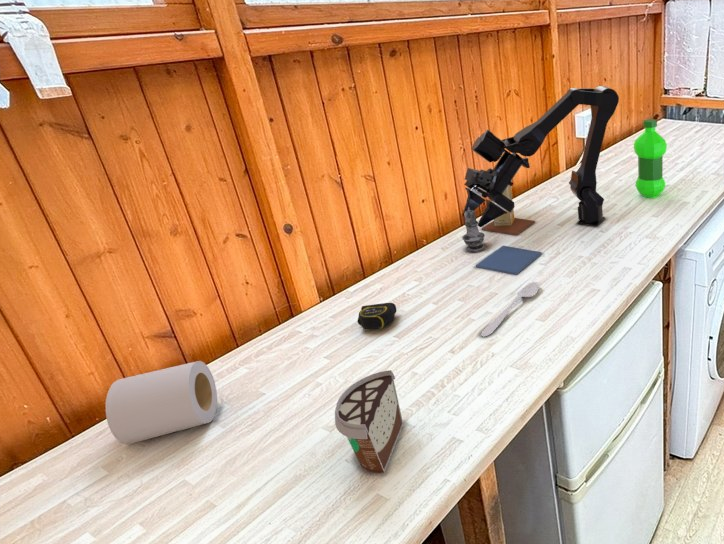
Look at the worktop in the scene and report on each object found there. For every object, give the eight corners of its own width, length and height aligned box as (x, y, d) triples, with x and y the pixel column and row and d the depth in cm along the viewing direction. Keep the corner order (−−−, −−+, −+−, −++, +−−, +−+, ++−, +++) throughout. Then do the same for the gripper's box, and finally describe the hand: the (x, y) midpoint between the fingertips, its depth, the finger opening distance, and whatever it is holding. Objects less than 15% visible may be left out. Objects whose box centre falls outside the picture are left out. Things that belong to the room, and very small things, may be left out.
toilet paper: (126, 458, 78) (96, 407, 74) (150, 414, 86) (124, 366, 82) (206, 436, 81) (182, 386, 77) (222, 396, 90) (200, 349, 85)
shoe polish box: (498, 219, 158) (493, 181, 152) (514, 218, 157) (510, 181, 152) (494, 225, 153) (489, 187, 148) (511, 225, 153) (506, 186, 148)
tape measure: (399, 313, 112) (395, 298, 110) (392, 331, 106) (388, 316, 104) (365, 317, 111) (361, 302, 109) (357, 336, 105) (352, 320, 103)
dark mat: (534, 222, 156) (534, 220, 156) (516, 235, 148) (516, 233, 147) (501, 217, 160) (501, 215, 160) (481, 229, 152) (481, 228, 152)
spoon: (544, 289, 119) (543, 282, 119) (491, 338, 102) (490, 332, 102) (528, 286, 121) (528, 279, 120) (474, 334, 104) (473, 327, 103)
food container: (366, 420, 83) (351, 371, 79) (406, 417, 84) (392, 367, 79) (335, 485, 72) (315, 431, 68) (380, 481, 72) (363, 427, 68)
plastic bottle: (636, 190, 179) (635, 117, 169) (667, 190, 178) (667, 117, 167) (633, 200, 170) (631, 124, 160) (665, 200, 169) (665, 124, 158)
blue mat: (541, 254, 136) (541, 252, 136) (516, 274, 126) (516, 272, 126) (503, 247, 141) (503, 245, 140) (476, 267, 131) (475, 264, 130)
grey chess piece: (489, 243, 143) (483, 203, 138) (482, 253, 138) (475, 211, 133) (468, 243, 144) (461, 203, 139) (461, 253, 138) (453, 211, 133)
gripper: (466, 149, 140) (433, 197, 138) (497, 163, 127) (462, 216, 125) (496, 171, 148) (465, 217, 146) (529, 186, 134) (496, 237, 133)
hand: (471, 221), depth 137 cm, fingers open, 9 cm apart
